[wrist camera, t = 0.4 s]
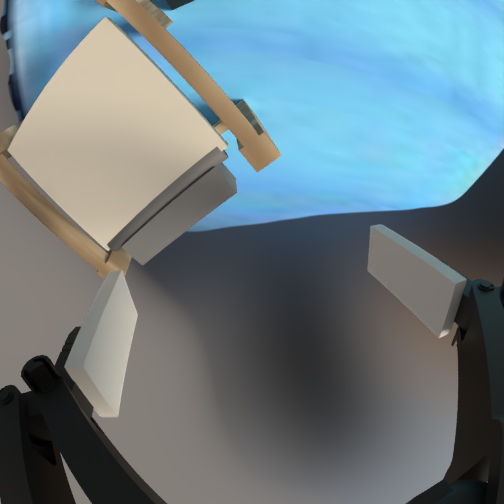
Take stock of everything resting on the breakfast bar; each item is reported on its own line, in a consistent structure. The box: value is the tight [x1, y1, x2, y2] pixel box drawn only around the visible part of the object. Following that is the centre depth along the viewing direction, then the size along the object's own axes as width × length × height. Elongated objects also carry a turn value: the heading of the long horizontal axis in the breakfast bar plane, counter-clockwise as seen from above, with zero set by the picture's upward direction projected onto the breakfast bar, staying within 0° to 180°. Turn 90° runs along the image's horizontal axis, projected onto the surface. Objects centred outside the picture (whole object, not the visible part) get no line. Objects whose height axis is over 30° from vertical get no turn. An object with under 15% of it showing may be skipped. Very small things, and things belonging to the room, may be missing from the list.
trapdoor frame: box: [0, 0, 282, 279], centre depth 23 cm, size 18×18×19 cm
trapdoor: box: [7, 17, 237, 265], centre depth 18 cm, size 13×16×3 cm
